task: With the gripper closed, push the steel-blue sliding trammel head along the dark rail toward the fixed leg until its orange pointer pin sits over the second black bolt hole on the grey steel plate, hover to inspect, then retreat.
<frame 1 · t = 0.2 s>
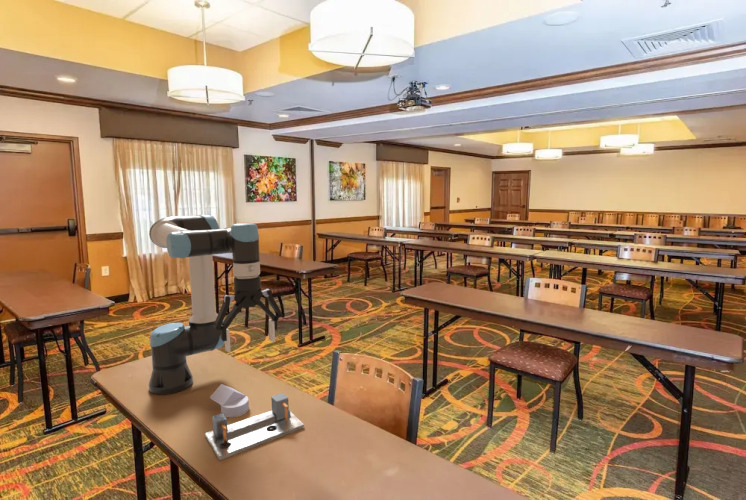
hand: (250, 345, 124), 28 cm above the table, fingers open, 13 cm apart
slider: (282, 408, 132), point 5 cm above the table, slide at 13.0 cm
wedge on round base: (232, 408, 142), on the table
bolt plate: (255, 432, 127), on the table
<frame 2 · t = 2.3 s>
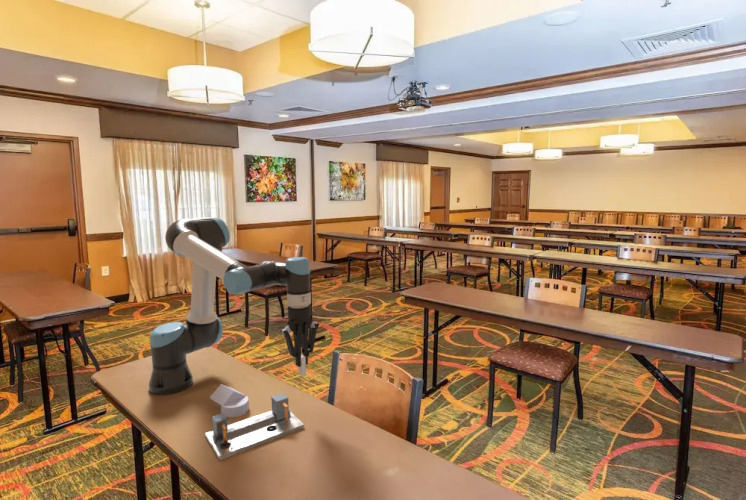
hand: (302, 374, 136), 13 cm above the table, fingers closed
nothing on the table moved.
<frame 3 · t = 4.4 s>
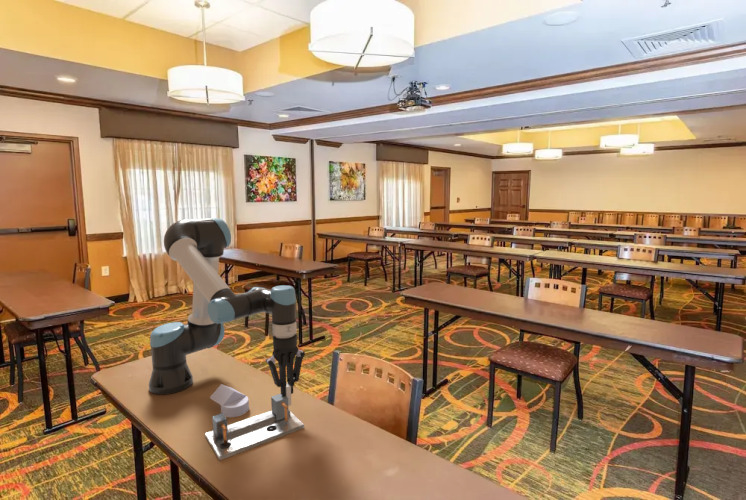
hand: (287, 403, 135), 5 cm above the table, fingers closed
slider: (282, 408, 132), point 5 cm above the table, slide at 12.9 cm, touching gripper
everything else where it was.
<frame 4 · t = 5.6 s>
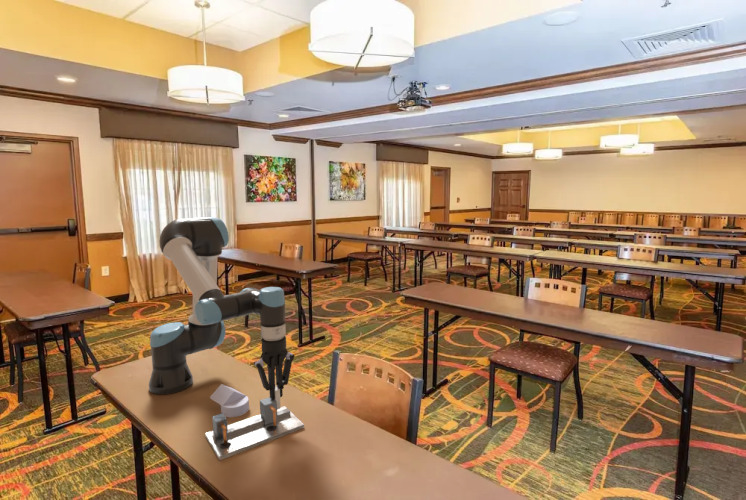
hand: (276, 407, 132), 5 cm above the table, fingers closed
slider: (270, 412, 129), point 5 cm above the table, slide at 9.1 cm, touching gripper
everything else where it was.
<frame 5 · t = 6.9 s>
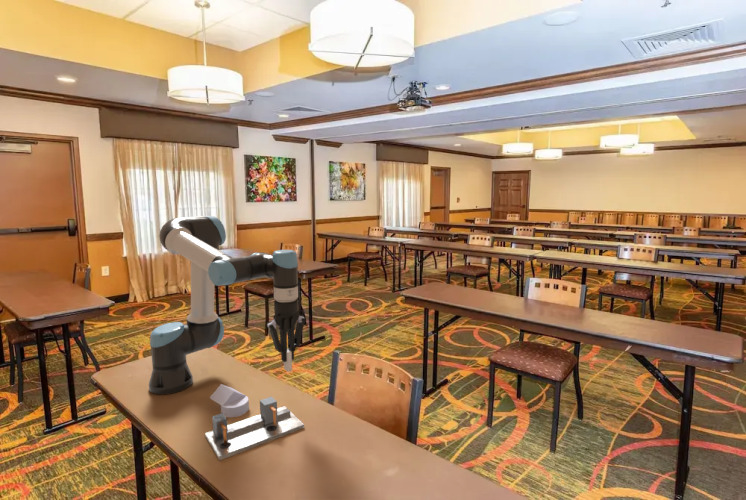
hand: (288, 369, 134), 16 cm above the table, fingers closed
slider: (270, 412, 129), point 5 cm above the table, slide at 9.1 cm
everything else where it was.
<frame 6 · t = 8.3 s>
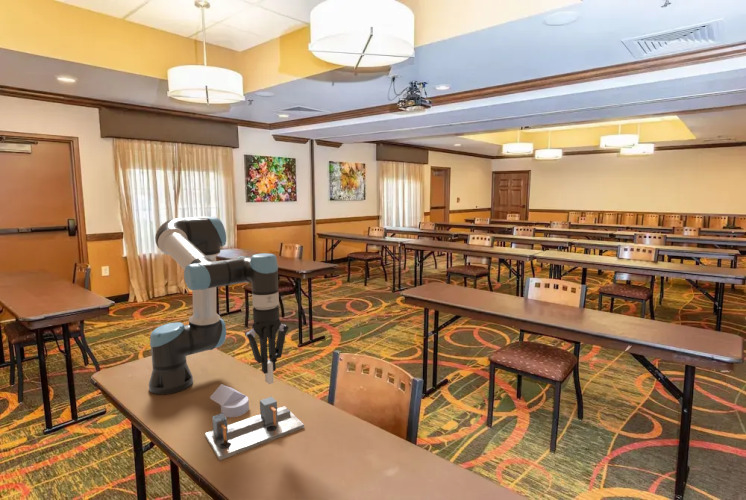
hand: (269, 381, 125), 16 cm above the table, fingers closed
nothing on the table moved.
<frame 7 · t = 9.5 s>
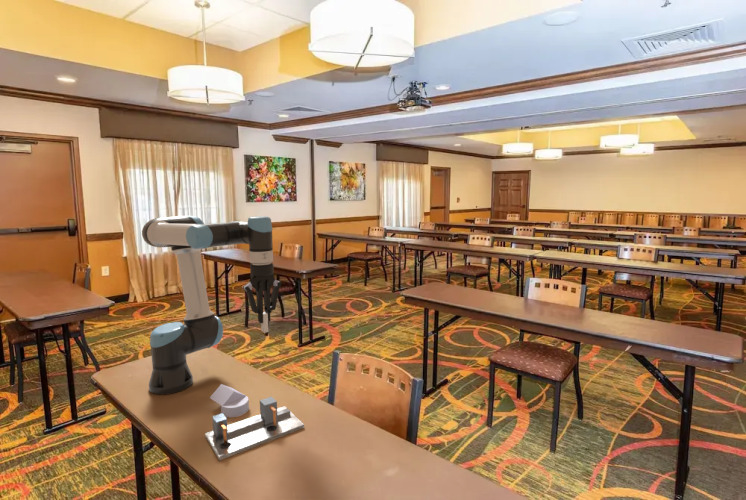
hand: (264, 331, 140), 26 cm above the table, fingers closed
nothing on the table moved.
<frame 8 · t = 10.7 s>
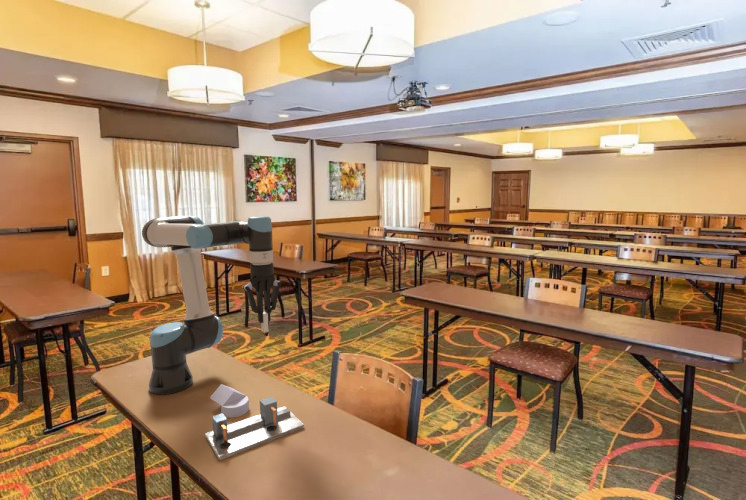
hand: (264, 331, 140), 26 cm above the table, fingers closed
nothing on the table moved.
at the end: slider slide at 9.1 cm; slider touching nothing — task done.
